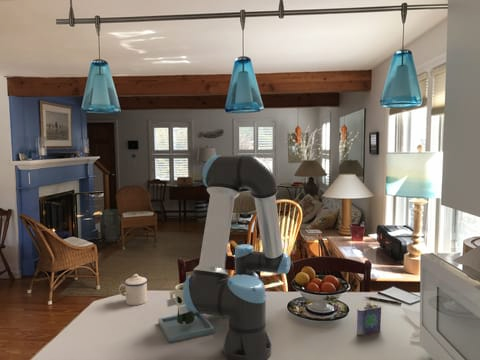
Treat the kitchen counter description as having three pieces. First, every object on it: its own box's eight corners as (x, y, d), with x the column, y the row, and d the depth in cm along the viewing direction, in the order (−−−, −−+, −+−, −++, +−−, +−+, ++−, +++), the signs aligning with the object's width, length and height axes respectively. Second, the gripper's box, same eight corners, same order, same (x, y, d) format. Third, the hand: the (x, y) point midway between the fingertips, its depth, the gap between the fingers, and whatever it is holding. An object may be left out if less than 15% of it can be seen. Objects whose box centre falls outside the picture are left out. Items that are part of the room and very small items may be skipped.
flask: (359, 336, 132) (360, 305, 131) (354, 332, 135) (354, 302, 134) (382, 332, 135) (383, 302, 134) (376, 328, 138) (377, 298, 137)
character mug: (168, 326, 137) (167, 290, 135) (173, 316, 144) (172, 282, 142) (199, 326, 136) (198, 290, 135) (202, 317, 143) (201, 283, 142)
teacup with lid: (150, 297, 169) (149, 271, 168) (143, 306, 160) (142, 278, 159) (123, 297, 170) (122, 270, 169) (115, 305, 161) (114, 278, 160)
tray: (214, 332, 136) (214, 327, 136) (169, 343, 129) (169, 337, 129) (199, 314, 151) (199, 310, 150) (158, 323, 144) (158, 318, 144)
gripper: (242, 307, 143) (189, 327, 129) (210, 292, 159) (159, 307, 144) (242, 288, 142) (188, 305, 128) (209, 274, 158) (158, 288, 144)
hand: (173, 306), depth 136 cm, fingers closed on character mug, 8 cm apart
